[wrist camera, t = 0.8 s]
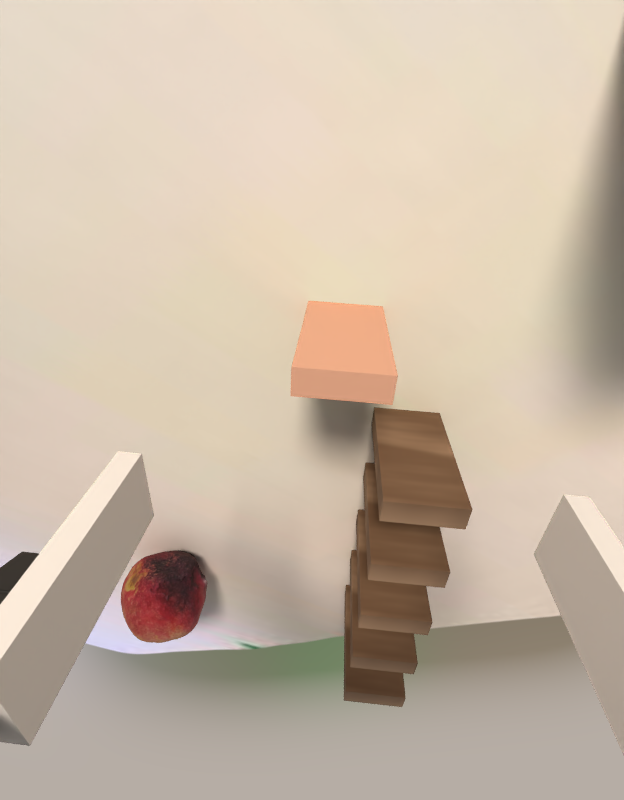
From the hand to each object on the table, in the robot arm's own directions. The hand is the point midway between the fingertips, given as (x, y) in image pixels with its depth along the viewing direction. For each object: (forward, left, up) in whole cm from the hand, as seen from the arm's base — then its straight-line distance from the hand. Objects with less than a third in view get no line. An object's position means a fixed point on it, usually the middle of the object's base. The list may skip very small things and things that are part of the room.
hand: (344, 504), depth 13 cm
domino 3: (+5, -14, -18) cm, 23 cm away
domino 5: (+5, -25, -18) cm, 31 cm away
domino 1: (0, 0, -18) cm, 18 cm away
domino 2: (+5, -8, -18) cm, 20 cm away
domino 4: (+5, -19, -18) cm, 27 cm away
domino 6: (+5, -30, -18) cm, 35 cm away
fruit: (-15, -28, -18) cm, 36 cm away
